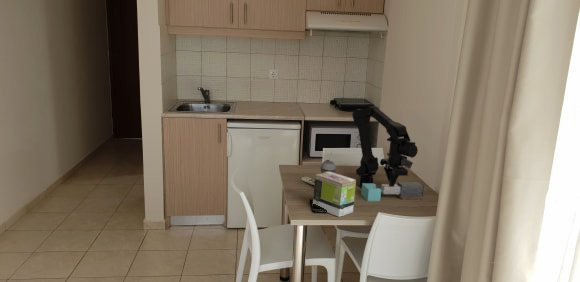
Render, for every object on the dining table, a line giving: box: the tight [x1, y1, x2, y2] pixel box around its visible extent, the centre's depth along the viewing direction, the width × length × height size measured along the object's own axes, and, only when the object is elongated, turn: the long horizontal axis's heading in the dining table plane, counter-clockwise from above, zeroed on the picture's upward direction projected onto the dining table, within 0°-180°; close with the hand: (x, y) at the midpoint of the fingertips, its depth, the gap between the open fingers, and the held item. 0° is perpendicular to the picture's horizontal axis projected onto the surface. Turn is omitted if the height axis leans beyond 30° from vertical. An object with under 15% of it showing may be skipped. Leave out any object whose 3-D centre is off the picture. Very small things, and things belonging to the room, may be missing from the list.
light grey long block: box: [380, 180, 402, 195], centre depth 213 cm, size 17×4×8 cm, turn 101°
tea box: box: [312, 171, 357, 218], centre depth 192 cm, size 15×10×15 cm
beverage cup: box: [320, 151, 337, 173], centre depth 213 cm, size 7×7×20 cm
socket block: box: [360, 182, 382, 202], centre depth 211 cm, size 6×9×6 cm, turn 11°
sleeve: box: [396, 181, 425, 201], centre depth 215 cm, size 11×5×7 cm, turn 101°
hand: (391, 184), depth 212 cm, fingers closed on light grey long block, 2 cm apart
